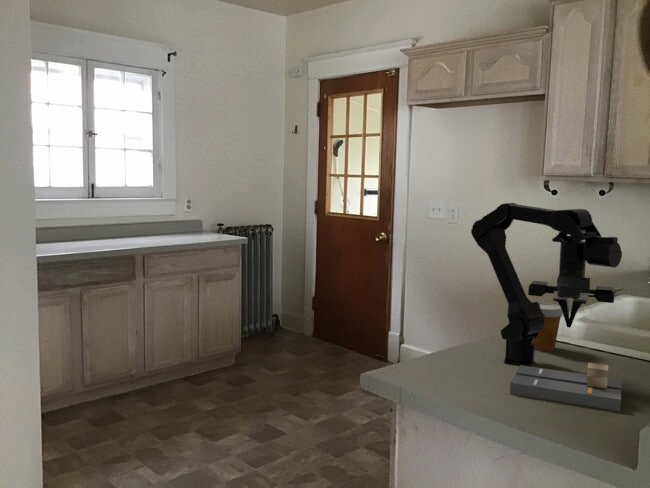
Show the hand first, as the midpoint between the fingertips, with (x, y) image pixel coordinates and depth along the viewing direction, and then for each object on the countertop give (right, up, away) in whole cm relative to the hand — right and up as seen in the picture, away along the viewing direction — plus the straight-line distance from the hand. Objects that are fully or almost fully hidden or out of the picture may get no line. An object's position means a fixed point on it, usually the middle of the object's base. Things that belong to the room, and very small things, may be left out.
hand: (568, 327), depth 147 cm
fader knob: (+1, -14, -12) cm, 18 cm away
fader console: (-4, -13, -10) cm, 17 cm away
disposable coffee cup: (+2, -10, +25) cm, 26 cm away
